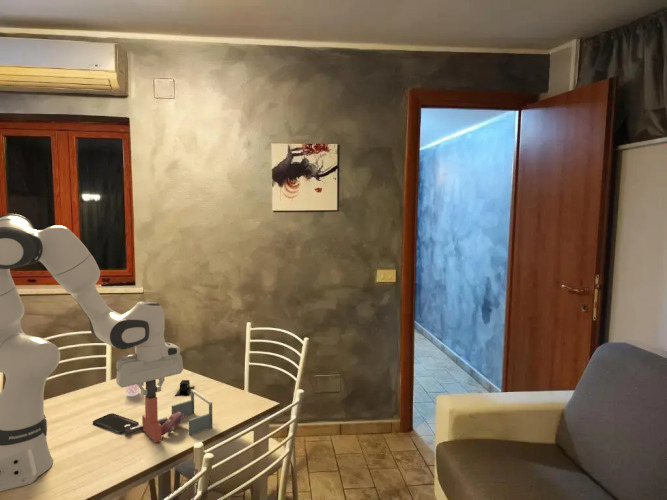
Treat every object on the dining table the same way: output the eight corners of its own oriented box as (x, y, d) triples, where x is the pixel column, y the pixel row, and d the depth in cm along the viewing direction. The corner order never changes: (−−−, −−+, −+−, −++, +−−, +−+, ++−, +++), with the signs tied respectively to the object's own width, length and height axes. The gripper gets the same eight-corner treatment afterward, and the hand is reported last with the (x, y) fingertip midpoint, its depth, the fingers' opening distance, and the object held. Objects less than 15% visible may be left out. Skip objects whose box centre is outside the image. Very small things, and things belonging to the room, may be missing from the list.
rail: (125, 435, 149) (125, 426, 149) (124, 434, 150) (124, 425, 150) (167, 422, 159) (167, 414, 158) (166, 421, 159) (166, 413, 159)
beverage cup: (120, 394, 181) (119, 359, 179) (135, 389, 186) (134, 355, 184) (129, 398, 177) (128, 363, 176) (143, 393, 182) (143, 359, 181)
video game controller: (164, 442, 148) (173, 425, 147) (153, 435, 149) (161, 417, 147) (180, 428, 158) (189, 411, 156) (170, 421, 158) (178, 404, 157)
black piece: (189, 399, 179) (189, 387, 178) (170, 399, 178) (170, 387, 178) (197, 386, 191) (197, 375, 191) (179, 386, 191) (179, 375, 190)
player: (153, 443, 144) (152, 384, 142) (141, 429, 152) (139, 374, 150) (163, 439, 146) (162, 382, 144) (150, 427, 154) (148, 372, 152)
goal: (190, 435, 150) (189, 409, 149) (171, 419, 161) (171, 394, 160) (212, 427, 156) (212, 402, 155) (193, 412, 166) (192, 388, 165)
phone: (111, 412, 163) (140, 422, 156) (111, 415, 164) (140, 425, 157) (90, 421, 157) (119, 432, 149) (90, 424, 157) (119, 435, 150)
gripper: (119, 360, 137) (120, 405, 138) (184, 347, 150) (185, 387, 152) (112, 355, 141) (113, 398, 143) (176, 342, 155) (177, 382, 156)
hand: (151, 392), depth 147 cm, fingers closed on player, 3 cm apart
